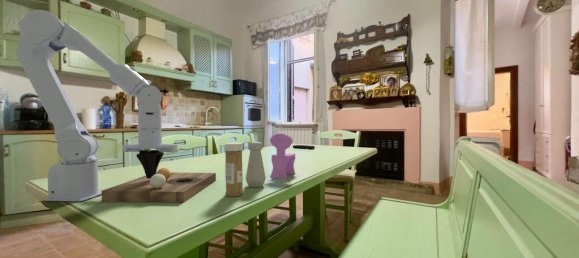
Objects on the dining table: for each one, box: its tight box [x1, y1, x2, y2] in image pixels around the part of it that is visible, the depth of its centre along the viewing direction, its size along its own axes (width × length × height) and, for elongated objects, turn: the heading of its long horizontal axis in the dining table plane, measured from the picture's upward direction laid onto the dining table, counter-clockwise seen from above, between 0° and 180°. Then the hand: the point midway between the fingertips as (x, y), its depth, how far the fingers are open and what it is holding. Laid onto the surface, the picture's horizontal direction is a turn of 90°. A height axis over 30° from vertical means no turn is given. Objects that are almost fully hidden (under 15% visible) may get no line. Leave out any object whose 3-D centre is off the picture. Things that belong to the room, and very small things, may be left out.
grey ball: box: [150, 174, 166, 188], centre depth 62 cm, size 4×4×4 cm
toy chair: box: [269, 132, 296, 180], centre depth 89 cm, size 8×9×15 cm
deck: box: [101, 171, 217, 203], centre depth 71 cm, size 20×22×2 cm
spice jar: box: [224, 141, 244, 197], centre depth 66 cm, size 5×5×14 cm
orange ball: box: [156, 167, 171, 180], centre depth 71 cm, size 4×4×4 cm
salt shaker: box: [245, 141, 267, 188], centre depth 74 cm, size 6×6×13 cm
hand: (150, 177), depth 71 cm, fingers closed
